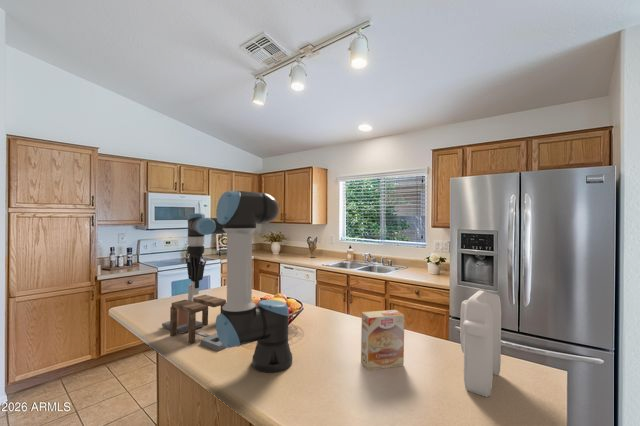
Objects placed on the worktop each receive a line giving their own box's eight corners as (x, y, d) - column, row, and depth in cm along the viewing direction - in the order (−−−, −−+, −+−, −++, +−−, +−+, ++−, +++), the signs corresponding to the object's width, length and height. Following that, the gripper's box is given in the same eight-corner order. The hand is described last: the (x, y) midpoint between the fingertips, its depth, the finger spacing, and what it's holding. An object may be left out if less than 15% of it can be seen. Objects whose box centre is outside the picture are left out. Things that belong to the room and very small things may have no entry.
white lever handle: (203, 325, 153) (204, 282, 153) (181, 333, 143) (181, 287, 143) (184, 319, 162) (185, 278, 162) (162, 326, 152) (162, 282, 152)
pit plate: (244, 339, 138) (244, 335, 139) (218, 350, 127) (218, 345, 127) (226, 333, 145) (226, 329, 145) (200, 343, 133) (200, 339, 133)
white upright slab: (470, 361, 121) (471, 284, 121) (503, 370, 114) (504, 289, 114) (449, 391, 100) (450, 299, 100) (487, 405, 93) (489, 305, 93)
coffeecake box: (367, 371, 112) (368, 317, 112) (360, 362, 119) (360, 311, 119) (404, 366, 116) (405, 314, 116) (395, 357, 123) (395, 308, 123)
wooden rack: (229, 331, 148) (229, 300, 148) (193, 345, 132) (194, 310, 132) (184, 316, 167) (184, 289, 167) (149, 327, 151) (149, 296, 152)
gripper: (211, 245, 147) (210, 295, 147) (194, 243, 154) (193, 290, 154) (197, 247, 141) (196, 298, 141) (180, 245, 148) (179, 294, 148)
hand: (195, 294), depth 147 cm, fingers closed
